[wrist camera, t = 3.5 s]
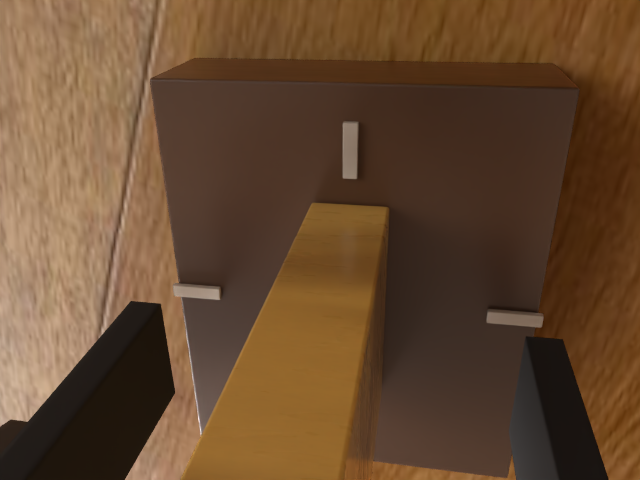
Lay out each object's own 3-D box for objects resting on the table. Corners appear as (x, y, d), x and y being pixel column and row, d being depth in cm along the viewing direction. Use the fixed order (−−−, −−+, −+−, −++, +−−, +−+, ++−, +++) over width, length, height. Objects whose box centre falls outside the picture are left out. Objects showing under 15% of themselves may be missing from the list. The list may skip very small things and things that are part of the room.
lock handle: (311, 201, 15) (162, 510, 7) (389, 206, 14) (333, 536, 6) (315, 384, 18) (212, 763, 9) (381, 391, 17) (334, 790, 9)
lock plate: (190, 57, 17) (141, 79, 14) (559, 63, 15) (588, 89, 12) (225, 381, 22) (196, 443, 19) (500, 411, 21) (511, 484, 18)
